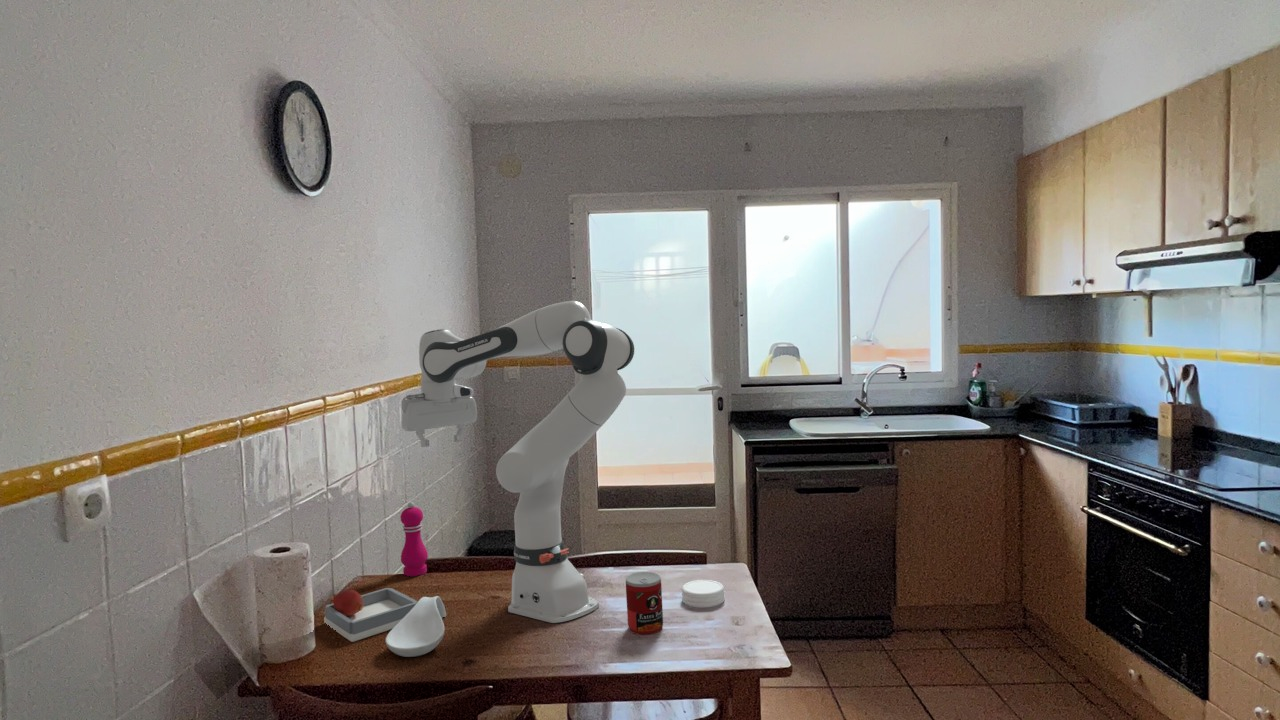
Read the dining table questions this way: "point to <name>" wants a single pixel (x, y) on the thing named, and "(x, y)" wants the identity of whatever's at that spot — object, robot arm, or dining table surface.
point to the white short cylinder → (703, 593)
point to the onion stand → (371, 614)
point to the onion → (347, 602)
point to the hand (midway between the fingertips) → (441, 444)
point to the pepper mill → (413, 542)
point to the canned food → (644, 603)
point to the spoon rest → (418, 629)
